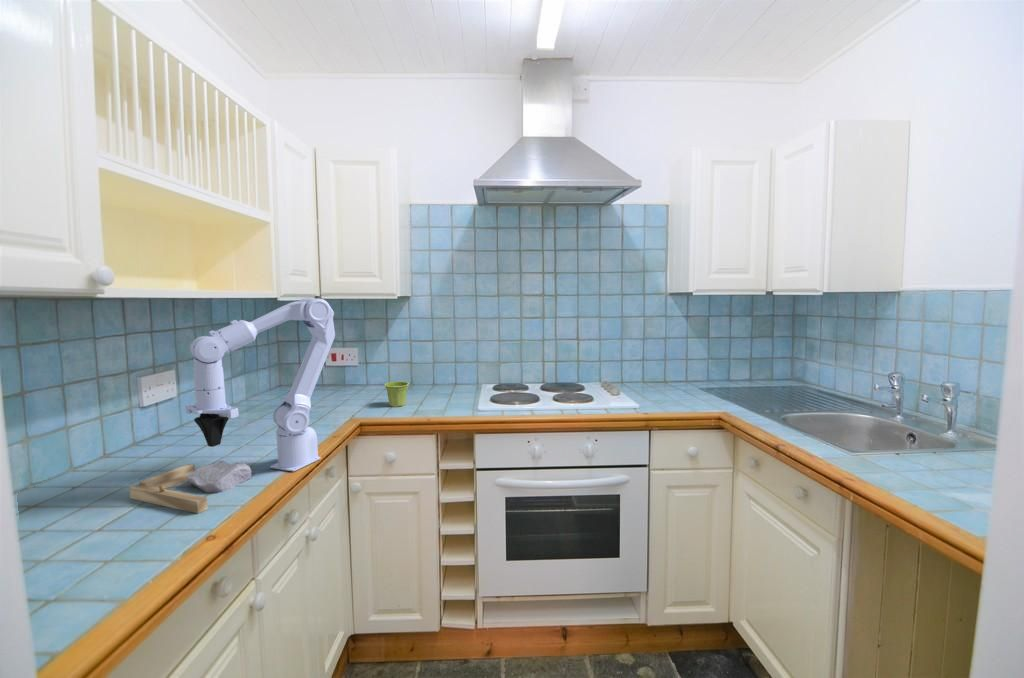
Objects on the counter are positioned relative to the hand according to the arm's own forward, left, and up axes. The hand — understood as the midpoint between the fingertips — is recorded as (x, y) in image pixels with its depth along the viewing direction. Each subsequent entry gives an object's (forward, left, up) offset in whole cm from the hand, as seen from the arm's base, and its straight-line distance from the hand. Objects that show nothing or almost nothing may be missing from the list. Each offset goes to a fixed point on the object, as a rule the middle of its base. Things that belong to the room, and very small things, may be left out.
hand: (214, 445), depth 105 cm
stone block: (0, 0, -10) cm, 10 cm away
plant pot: (-77, -2, -10) cm, 78 cm away
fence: (+5, 0, -9) cm, 11 cm away
